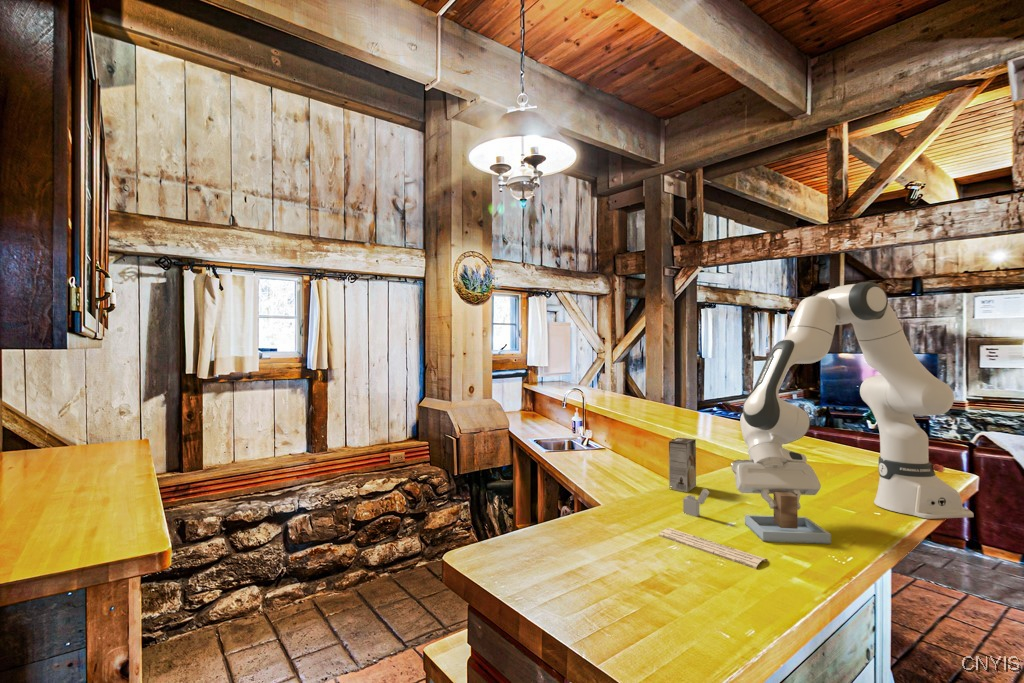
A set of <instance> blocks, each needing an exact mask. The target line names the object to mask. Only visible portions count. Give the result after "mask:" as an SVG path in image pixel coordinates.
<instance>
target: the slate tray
mask: <svg viewBox="0 0 1024 683" xmlns="http://www.w3.org/2000/svg"><path fill="white" fill-rule="evenodd" d="M744 525H745V526H746V527H748V529H750V530H751V531H752V532H753V533H754V534H755V536H757V537H758V538H759V539H760V540H761V541H762V542H768V543H769V542H770V543H791V544H813V545H814V544H815V545H816V544H817V545H819V544H820V545H822V544H823V545H831V544H832V533H830V532H828V531H827V530H825V529H824V528H822V527H821V526H820V525H819V524H817V523H815V522H814V521H812V520H811V519H810V518H808V517H806V516H798V529H793V528H780V527H779V526H778V525H776V524H775V523H774V515H759V514H758V515H757V514H756V515H755V514H754V515H753V514H745V515H744Z"/></svg>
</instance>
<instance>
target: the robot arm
mask: <svg viewBox="0 0 1024 683" xmlns="http://www.w3.org/2000/svg"><path fill="white" fill-rule="evenodd" d="M888 298H889V297H888V295H887V292H886V290H885V289H884V288H883V287H882V286H880V285H879V284H877V283H876V282H871V281H870V282H869V281H868V282H867V281H865V282H862V281H861V282H858V283H852V284H845V285H838V286H835V288H833V287H832V288H829V289H827V290H824V291H818V292H815V293H813V294H812V295H810V296H807V297H806V298H803V299H802V300H801V301H800V302H799V304H798V305H797V307H796V309H795V311H794V313H793V314H792V318H791V319H790V320H791V321H790V322H789V324H788V325H789V326H788V329H787V332H786V334H785V336H784V338H783V340H782V339H781V340H780V341H778V342H776V344H775V345H773V347H772V349H771V351H770V352H769V354H768V356H767V358H766V360H765V363H764V365H763V367H762V369H761V371H760V374H759V376H758V378H757V380H756V382H755V384H754V386H753V388H752V390H751V391H750V392H749V394H748V396H747V397H746V399H745V400H744V402H743V405H742V413H741V415H740V418H739V419H740V421H739V423H740V424H739V427H740V431H741V434H742V438H743V441H744V443H745V444H746V446H747V453H748V454H747V455H748V457H749V459H735V460H733V461H732V462H731V464H730V466H731V470H732V472H733V474H734V480H735V486H736V489H737V491H738V492H739V493H741V494H760V495H761V496H760V497H761V498H762V499H763V500H765V502H766V503H767V504H768V505H769V508H770V509H772V510H774V509H777V507H778V504H777V501H776V500H774V498H773V497H772V496H771V495H774V491H783V492H791V493H793V494H794V495H796V496H797V507H798V511H800V509H801V507H802V506H801V504H800V498H801V496H816V495H817V494H818V493H819V492H820V490H821V488H822V487H821V482H820V480H819V478H818V476H817V473H816V472H815V470H814V469H813V467H812V466H811V465H810V464H808V463H807V461H808V459H807V456H806V455H805V454H803V453H800V452H796V451H792V450H789V449H787V448H785V447H783V445H787V444H790V443H793V442H795V441H797V440H800V439H802V438H804V437H805V436H806V435H807V433H808V432H809V430H810V425H811V419H810V416H809V414H808V412H807V411H806V410H804V409H802V408H801V407H799V406H797V405H795V404H793V403H791V402H788V401H786V400H783V399H782V398H780V395H779V391H780V389H781V387H782V384H783V382H784V380H785V377H786V376H787V373H788V371H789V370H790V368H791V367H792V366H793V365H795V364H798V365H800V364H801V365H803V364H804V365H805V364H806V365H807V364H814V363H816V362H819V361H821V360H822V359H824V358H826V356H827V354H828V353H829V351H830V349H831V346H832V342H833V339H834V334H835V330H836V326H839V325H840V326H841V325H848V324H851V325H852V328H853V332H854V334H855V337H856V340H857V342H858V344H859V347H860V350H861V352H862V354H863V355H862V356H863V357H864V360H865V362H866V364H868V365H869V366H870V367H871V368H872V369H874V370H876V371H877V372H878V373H879V374H878V375H872V376H869V377H867V378H865V379H864V380H863V381H862V383H861V385H860V387H859V395H860V397H861V400H862V401H863V402H864V403H865V404H866V405H867V406H868V407H869V409H870V410H871V412H872V414H873V416H874V419H875V421H876V424H877V427H878V428H877V429H878V431H879V451H880V454H879V455H880V456H879V457H878V475H879V481H878V486H877V492H876V495H875V498H874V500H873V504H875V505H876V506H878V507H879V508H882V509H885V510H888V511H891V512H896V513H900V514H904V515H910V516H915V517H918V518H923V519H927V520H929V519H955V518H956V519H957V518H958V519H959V518H960V519H961V518H964V519H965V518H974V517H975V516H974V512H973V511H971V510H970V509H968V508H966V507H964V506H963V501H962V497H961V495H960V493H959V491H958V490H957V489H955V488H954V487H952V486H951V485H950V484H948V483H947V482H945V481H944V480H943V479H941V478H940V477H938V476H937V475H936V472H938V473H941V474H942V473H944V472H945V470H946V469H945V467H944V465H939V464H938V463H937V464H936V463H935V464H933V463H932V462H930V461H929V458H930V456H929V436H928V434H927V433H926V431H924V429H922V428H921V426H919V424H918V423H917V421H916V420H915V417H914V415H915V416H922V417H927V416H928V417H929V416H930V417H931V416H940V415H944V414H946V413H948V412H949V411H950V409H951V408H952V406H953V405H954V401H955V395H954V392H953V390H952V388H951V386H950V385H949V384H948V383H946V382H944V381H942V380H941V379H940V378H937V377H936V376H934V375H933V374H932V373H931V372H930V371H929V370H928V369H927V368H926V366H924V365H923V364H922V362H921V361H920V360H919V359H918V357H917V356H916V355H915V353H914V352H913V350H912V348H911V345H910V343H909V341H908V339H907V336H906V335H905V332H904V329H903V326H902V325H901V322H900V320H899V318H898V316H897V315H896V313H895V311H894V310H893V308H892V307H891V305H890V304H889V299H888Z"/></svg>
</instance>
